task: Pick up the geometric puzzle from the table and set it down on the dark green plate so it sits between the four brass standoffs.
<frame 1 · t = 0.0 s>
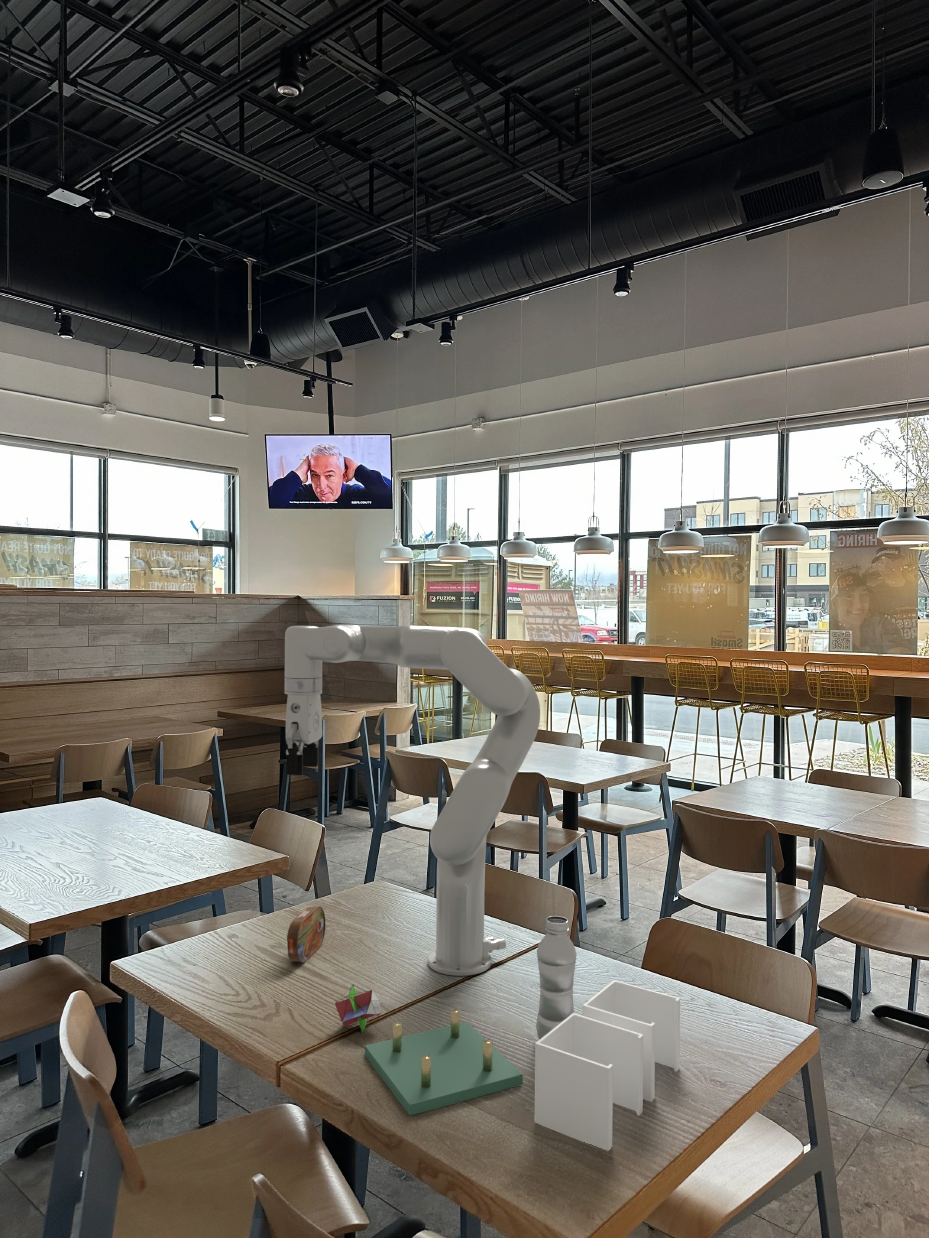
hand: (302, 770, 172), 37 cm above the table, tool pointing down, fingers open, 9 cm apart
plastic bottle: (556, 1044, 137), on the table
geometric puzzle: (357, 1028, 141), on the table
white u-channel brackets: (611, 1096, 122), on the table
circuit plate: (441, 1069, 129), on the table
brass standoffs: (441, 1046, 129), on the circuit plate, point 4 cm above the table
tin: (306, 954, 172), on the table
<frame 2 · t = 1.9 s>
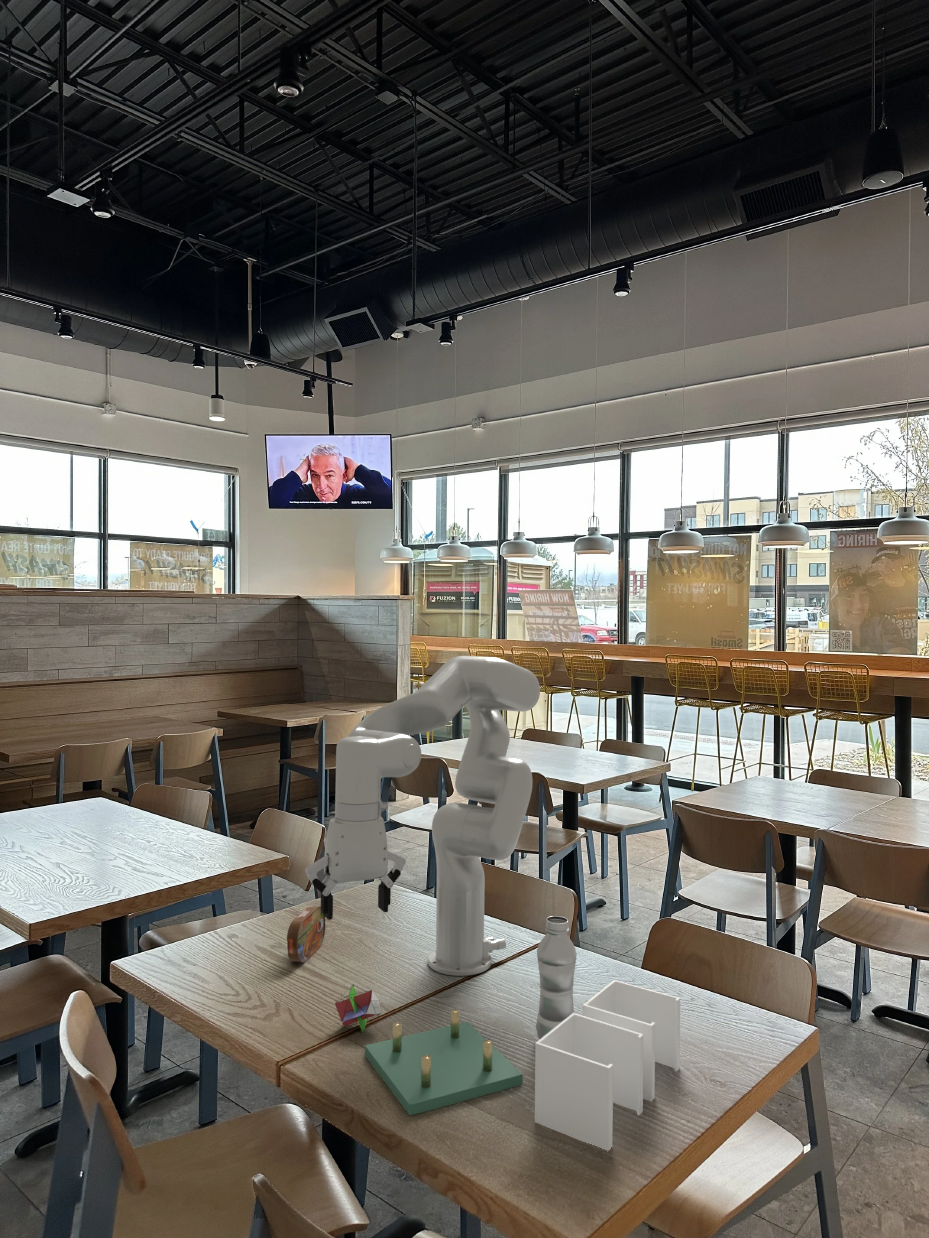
hand: (355, 913, 142), 19 cm above the table, tool pointing down, fingers open, 9 cm apart
nothing on the table moved.
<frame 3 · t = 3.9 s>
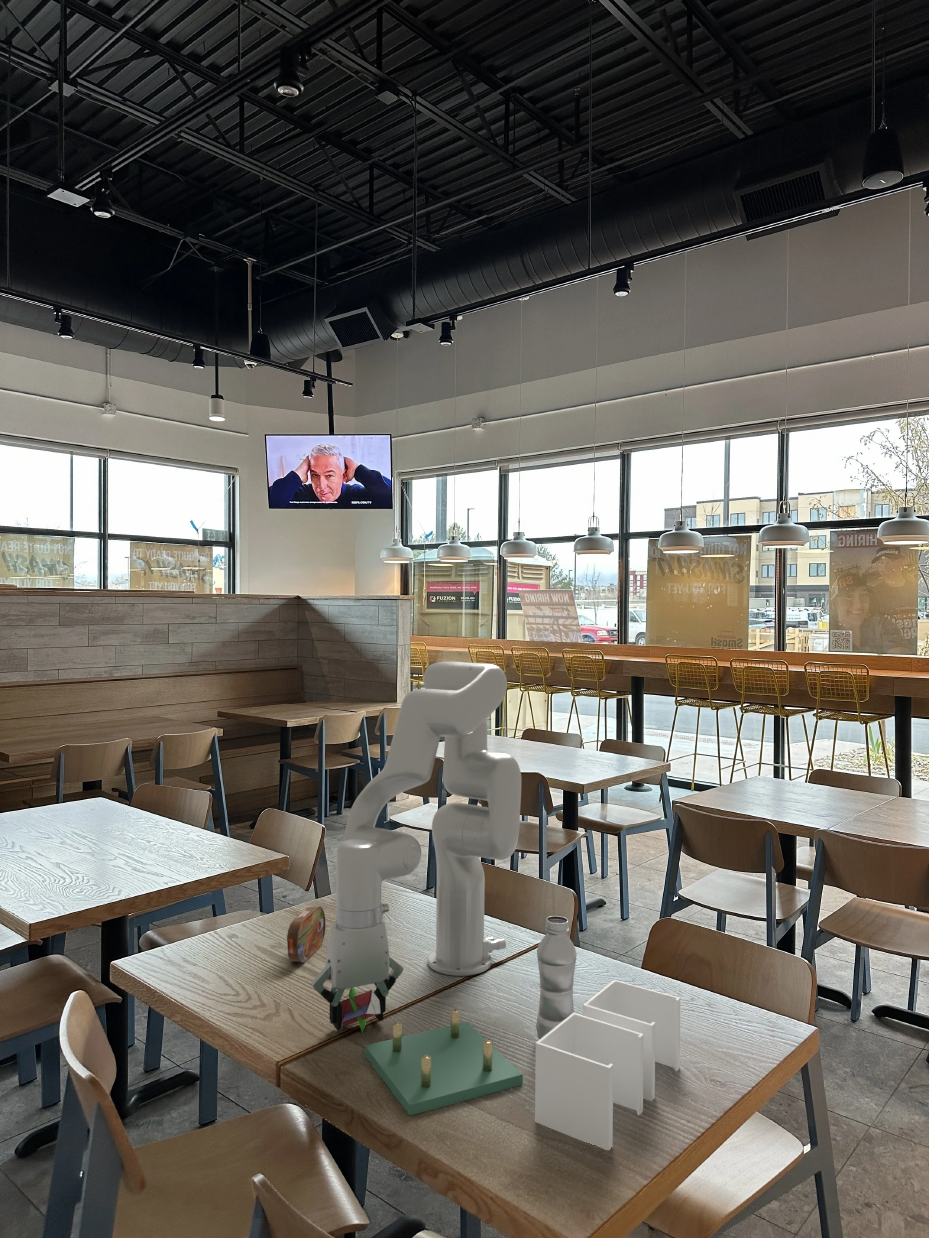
hand: (357, 1021, 141), 1 cm above the table, tool pointing down, fingers closed on geometric puzzle, 6 cm apart
geometric puzzle: (357, 1028, 141), on the table, touching gripper
everything else where it was.
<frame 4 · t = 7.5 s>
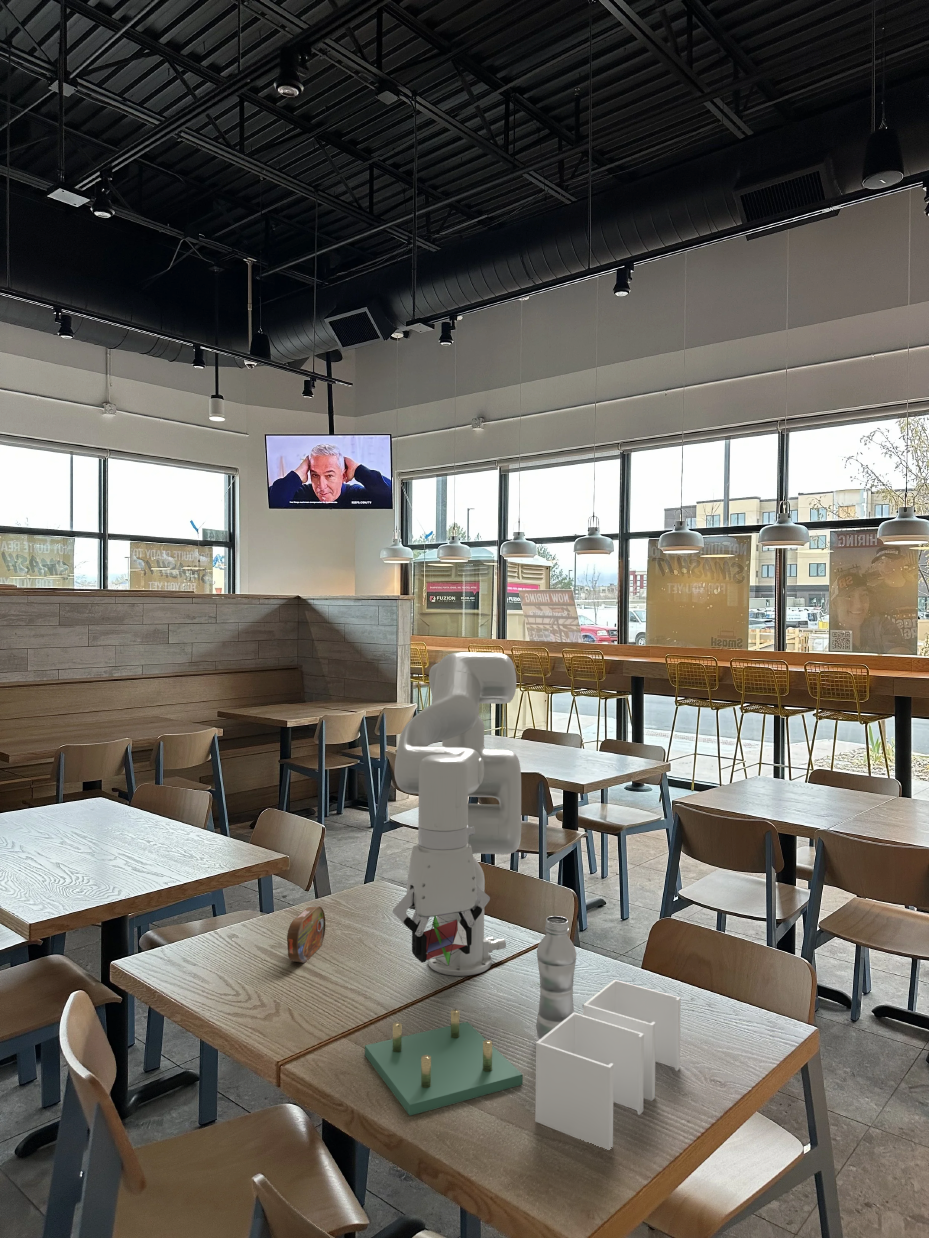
hand: (442, 953, 129), 17 cm above the table, tool pointing down, fingers closed on geometric puzzle, 6 cm apart
geometric puzzle: (441, 962, 129), point 16 cm above the table, touching gripper
everything else where it was.
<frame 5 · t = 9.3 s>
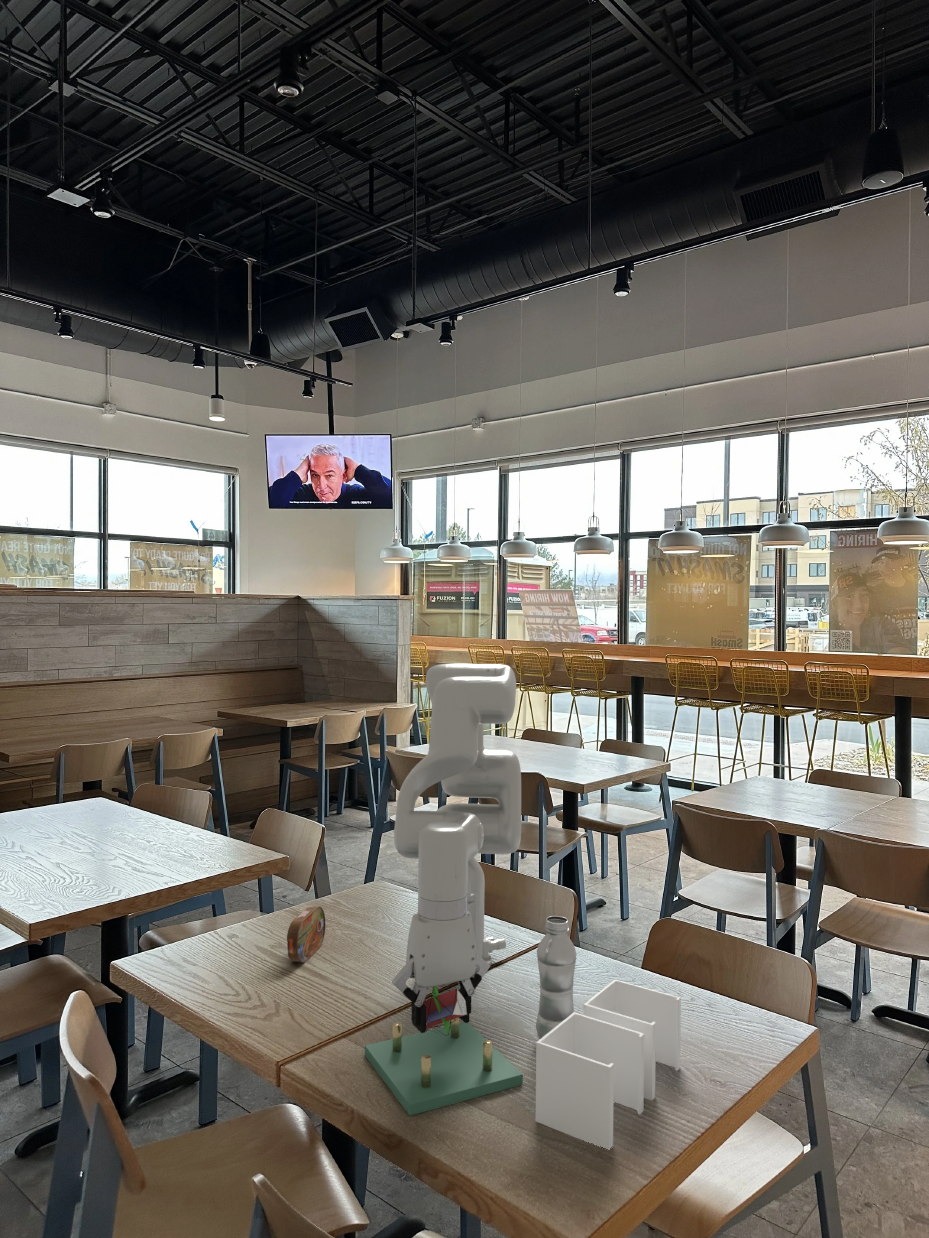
hand: (441, 1023, 128), 7 cm above the table, tool pointing down, fingers closed on geometric puzzle, 6 cm apart
geometric puzzle: (441, 1031, 128), point 6 cm above the table, touching gripper
everything else where it was.
when the fingers open (4 cm above the table, at t = 10.9 s): geometric puzzle drops 1 cm, resting on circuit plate.
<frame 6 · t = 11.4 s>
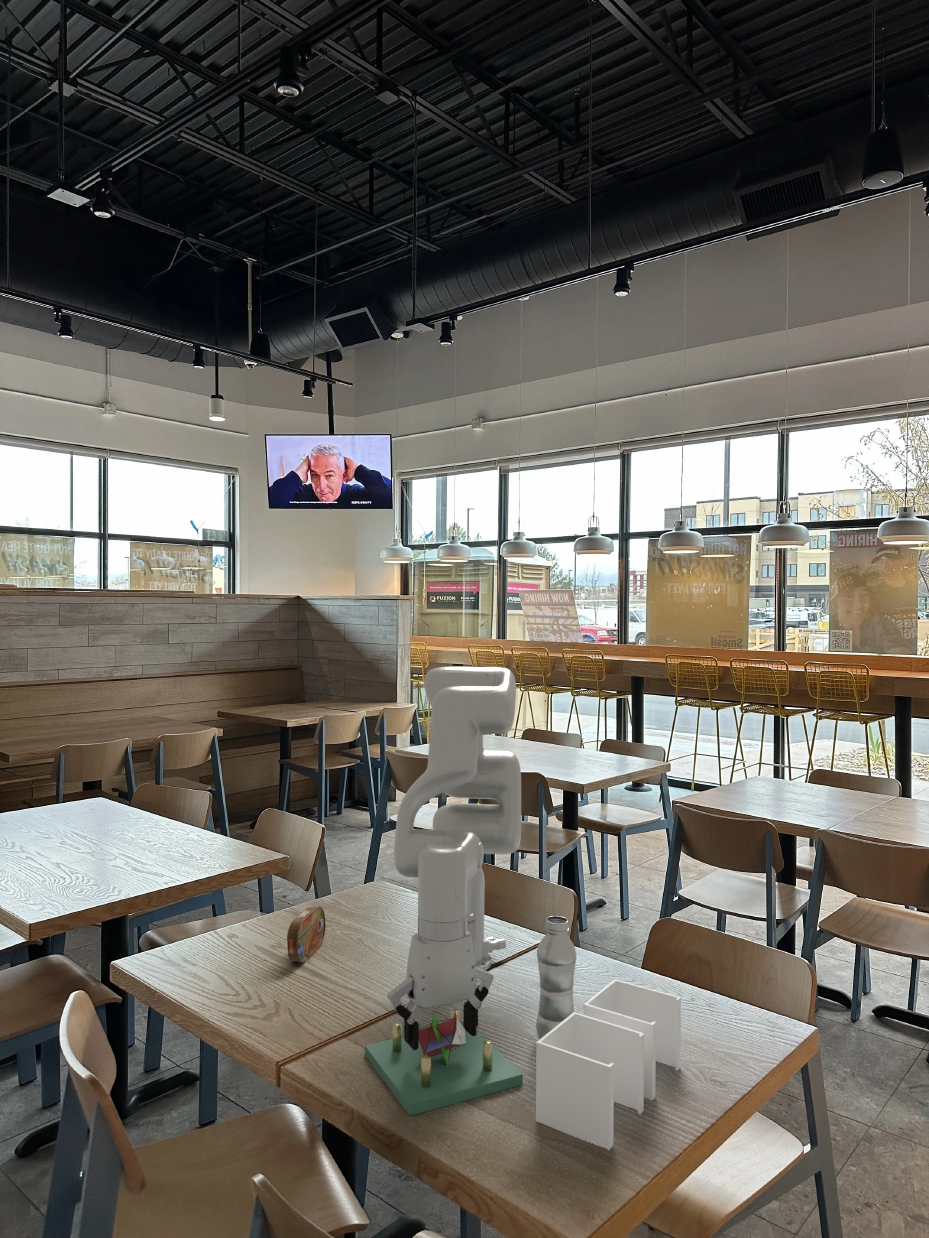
hand: (441, 1038, 128), 5 cm above the table, tool pointing down, fingers open, 9 cm apart
geometric puzzle: (440, 1059, 129), point 1 cm above the table, touching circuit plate
everything else where it was.
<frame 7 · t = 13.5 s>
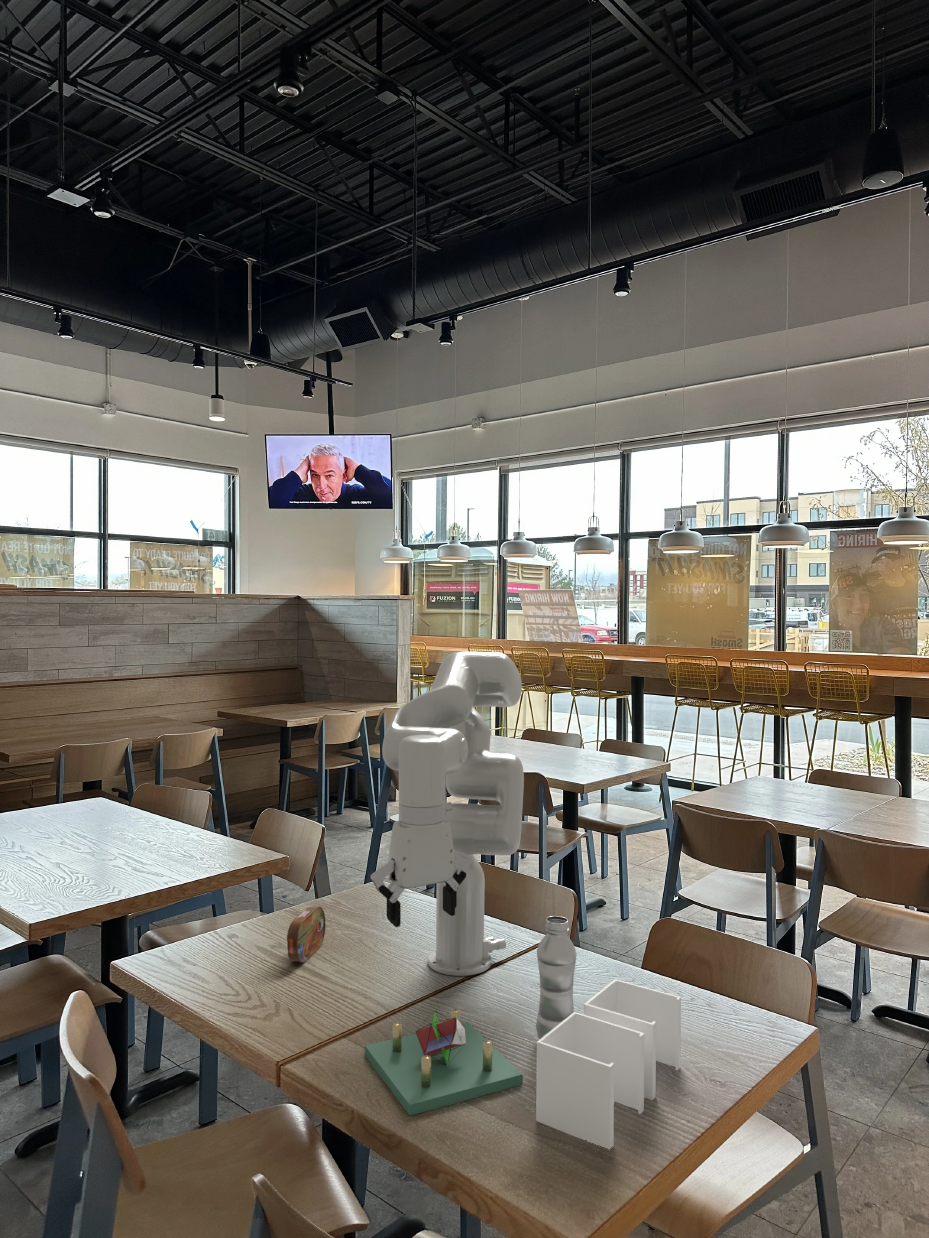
hand: (422, 918, 136), 20 cm above the table, tool pointing down, fingers open, 9 cm apart
nothing on the table moved.
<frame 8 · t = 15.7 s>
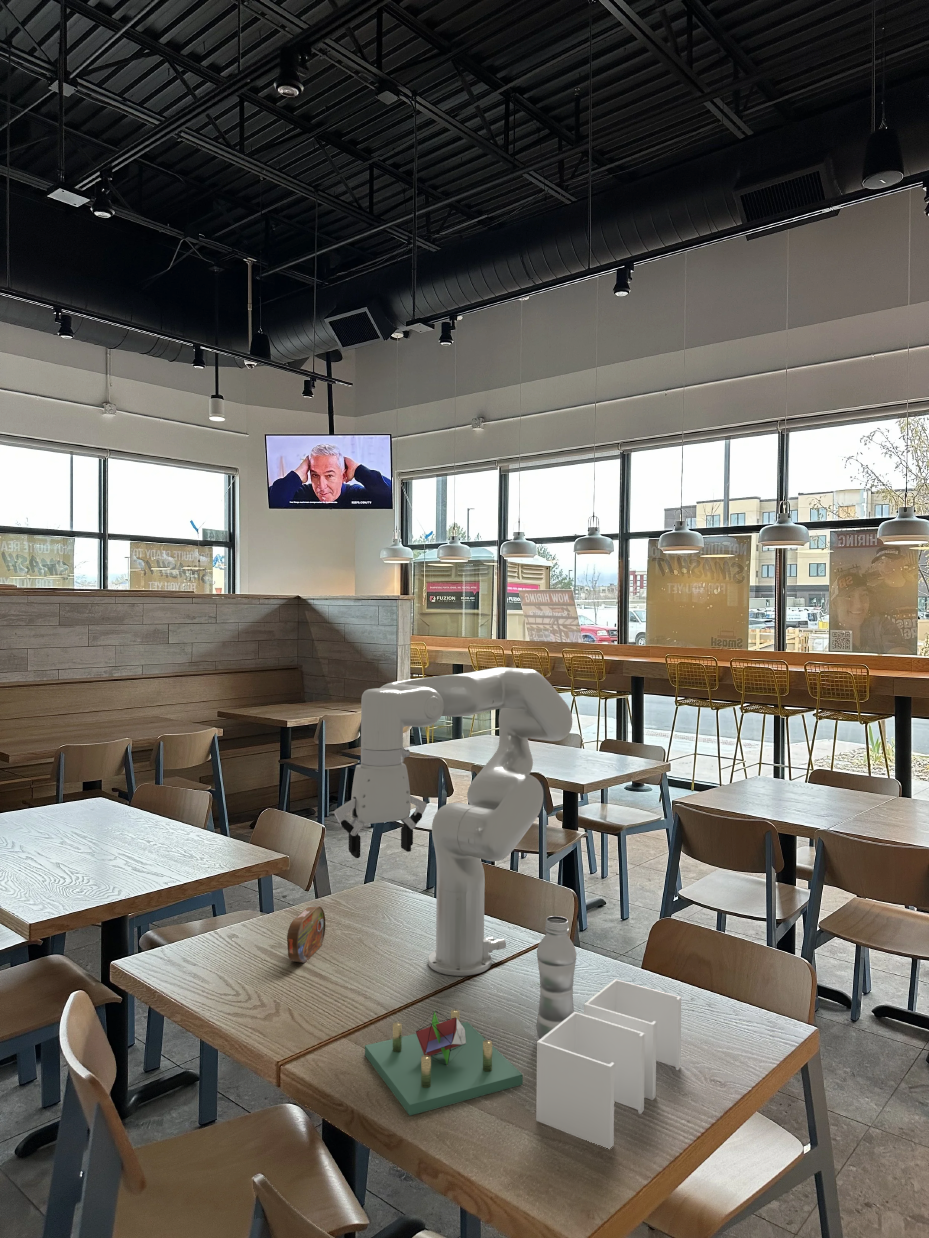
hand: (381, 853, 152), 26 cm above the table, tool pointing down, fingers open, 9 cm apart
nothing on the table moved.
at the end: geometric puzzle 0.3 cm off-centre on the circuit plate, point 1.3 cm above the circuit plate's base; geometric puzzle tilted 0°; the gripper is holding nothing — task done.
